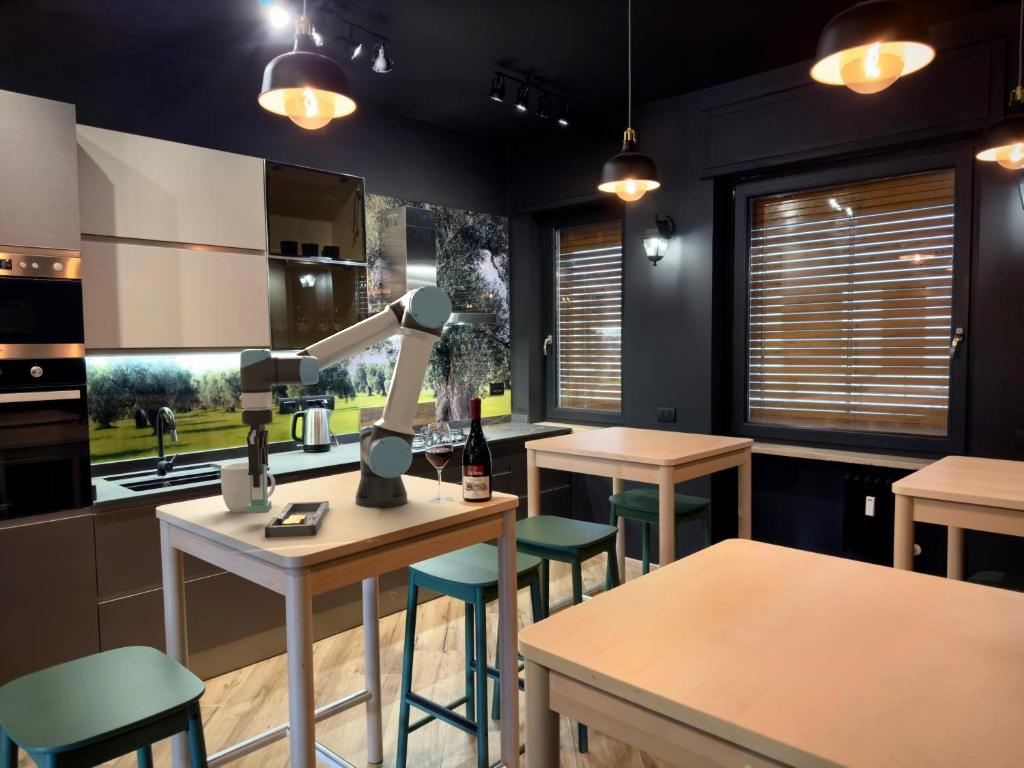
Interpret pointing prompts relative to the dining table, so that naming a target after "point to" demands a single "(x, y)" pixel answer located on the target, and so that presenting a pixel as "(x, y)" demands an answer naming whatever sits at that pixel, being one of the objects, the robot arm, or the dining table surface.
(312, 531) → the tray
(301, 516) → the chip
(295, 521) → the chip
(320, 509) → the dark gray shallow tray
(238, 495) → the mug
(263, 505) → the teal t-shaped block
